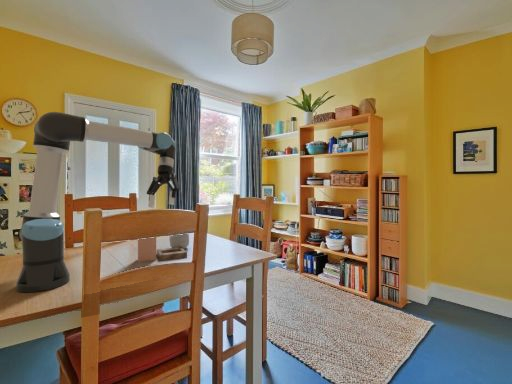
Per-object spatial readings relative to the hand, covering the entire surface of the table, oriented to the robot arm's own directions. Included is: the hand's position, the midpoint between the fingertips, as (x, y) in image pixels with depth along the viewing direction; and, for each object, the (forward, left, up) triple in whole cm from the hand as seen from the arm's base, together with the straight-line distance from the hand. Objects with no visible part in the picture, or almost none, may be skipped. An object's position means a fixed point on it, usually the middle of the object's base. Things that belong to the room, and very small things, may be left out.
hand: (160, 205), depth 131 cm
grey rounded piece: (+13, +14, -26) cm, 32 cm away
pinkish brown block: (-7, -2, -26) cm, 27 cm away
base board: (+5, 0, -26) cm, 27 cm away
